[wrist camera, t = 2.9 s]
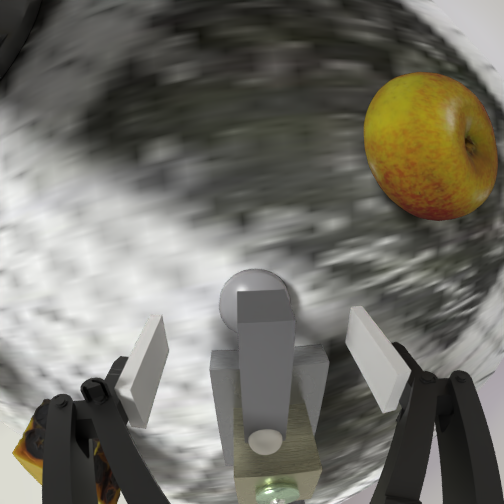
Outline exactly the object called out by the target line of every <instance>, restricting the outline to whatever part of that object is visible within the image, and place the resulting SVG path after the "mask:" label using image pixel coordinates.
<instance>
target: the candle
mask: <svg viewBox="0 0 504 504" xmlns="http://www.w3.org/2000/svg"><path fill="white" fill-rule="evenodd" d="M50 401H51V400H49V399H44V400H43V403H42V404H41V405H40V406H39V407H38V408H37V409H36V411H35V413H34V415H33V416H32V418H31V421H30V423H29V425H28V427H27V429H26V430H25V432H24V433H23V437H22V439H21V440H20V441H19V443H18V445H17V446H16V447H15V449H14V451H13V455H14V456H15V457H16V459H17V460H18V461H19V462H20V463H21V465H22V466H23V467H24V468H25V469H26V470H27V471H28V472H29V473H30V474H31V475H32V476H33V477H34V478H35V479H36V480H37V481H38V482H39V483H40V484H41V485H42V471H43V453H44V441H45V432H46V424H47V416H48V409H49V403H50ZM92 443H93V460H94V472H95V482H96V490H97V497H98V504H117V502H118V499H119V497H120V491H121V490H120V488H119V486H118V483H117V481H116V479H115V477H114V475H113V473H112V470H111V468H110V466H109V463H108V461H107V459H106V456H105V454H104V451H103V449H102V446H101V444H100V441H99V438H95V439H92Z"/></svg>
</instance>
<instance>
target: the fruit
mask: <svg viewBox="0 0 504 504" xmlns="http://www.w3.org/2000/svg"><path fill="white" fill-rule="evenodd" d="M364 144H365V152H366V156H367V160H368V165H369V167H370V169H371V171H372V174H373V176H374V177H375V179H376V181H377V183H378V184H379V185H380V187H381V188H382V190H383V191H384V192H385V193H386V194H387V196H388V197H389V198H390V199H391V200H392V201H393V202H395V203H396V204H397V205H398V206H400V207H401V208H402V209H404V210H405V211H407V212H408V213H410V214H412V215H414V216H416V217H419V218H423V219H427V220H435V221H442V220H450V219H455V218H459V217H462V216H465V215H467V214H469V213H471V212H473V211H474V210H475V209H477V208H478V207H479V206H480V205H482V204H483V202H484V201H485V200H486V199H487V197H488V196H489V195H490V193H491V191H492V189H493V187H494V184H495V181H496V176H497V169H498V157H497V147H496V141H495V136H494V131H493V127H492V124H491V121H490V118H489V116H488V114H487V112H486V110H485V108H484V106H483V105H482V103H481V102H480V101H479V99H478V98H477V97H476V95H475V94H473V93H472V92H471V91H470V90H469V89H468V88H466V87H465V86H464V85H463V84H462V83H460V82H458V81H456V80H454V79H452V78H450V77H447V76H444V75H441V74H438V73H428V72H415V73H409V74H405V75H402V76H398V77H396V78H394V79H392V80H390V81H389V82H388V83H386V84H385V85H384V86H383V87H382V88H381V89H380V90H379V91H378V92H377V93H376V95H375V96H374V98H373V99H372V101H371V103H370V105H369V107H368V110H367V113H366V116H365V122H364Z"/></svg>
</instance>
